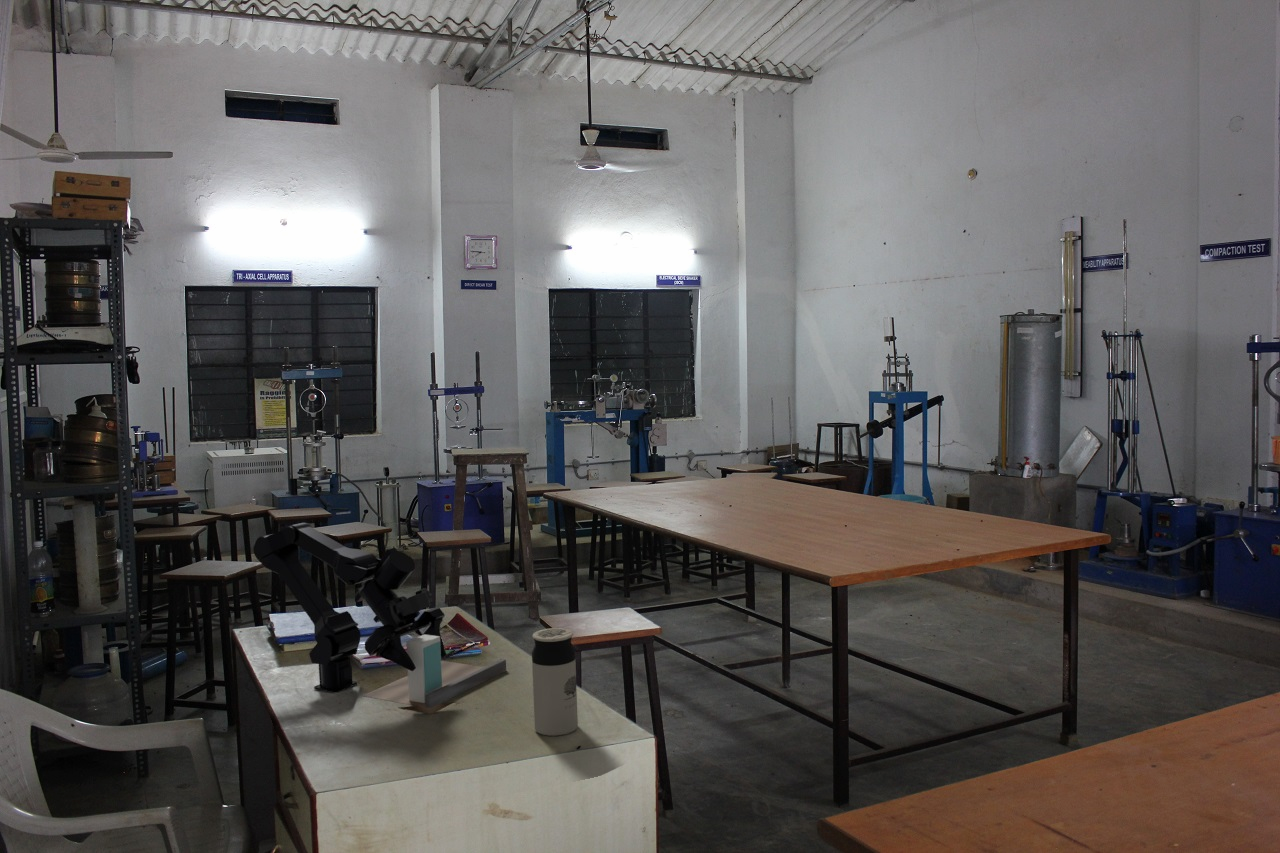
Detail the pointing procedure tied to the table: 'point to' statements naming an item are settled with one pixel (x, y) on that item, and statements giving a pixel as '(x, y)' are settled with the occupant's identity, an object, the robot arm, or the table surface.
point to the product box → (424, 666)
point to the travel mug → (554, 682)
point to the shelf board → (453, 683)
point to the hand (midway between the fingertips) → (429, 662)
